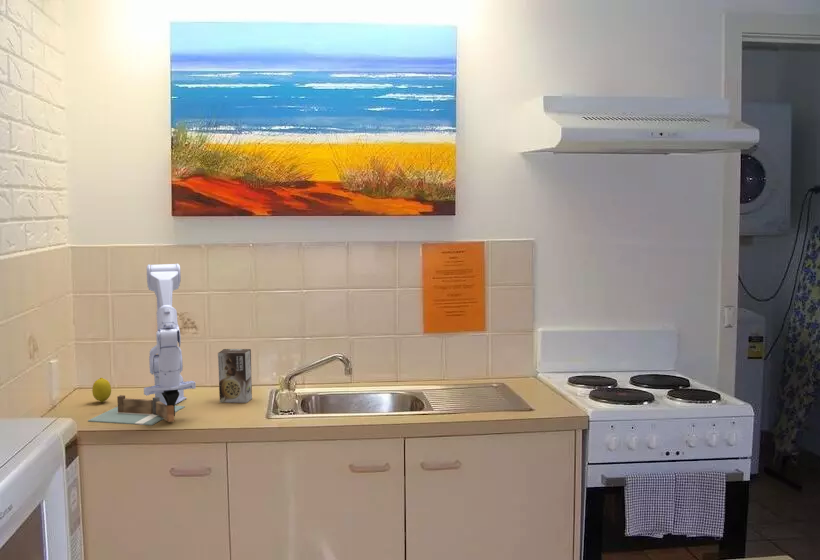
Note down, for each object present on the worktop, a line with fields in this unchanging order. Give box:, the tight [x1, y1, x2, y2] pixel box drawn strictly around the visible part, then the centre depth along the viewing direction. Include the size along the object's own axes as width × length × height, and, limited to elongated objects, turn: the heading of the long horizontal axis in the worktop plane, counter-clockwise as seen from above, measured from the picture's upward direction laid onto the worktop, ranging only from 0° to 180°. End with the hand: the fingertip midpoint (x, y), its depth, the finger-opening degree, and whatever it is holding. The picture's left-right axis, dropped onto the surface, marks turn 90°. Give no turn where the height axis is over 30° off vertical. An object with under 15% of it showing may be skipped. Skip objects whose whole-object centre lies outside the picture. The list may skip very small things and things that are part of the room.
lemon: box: [91, 377, 112, 403], centre depth 253 cm, size 6×6×8 cm
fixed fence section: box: [116, 394, 160, 415], centre depth 239 cm, size 13×2×5 cm, turn 79°
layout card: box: [87, 405, 186, 426], centre depth 240 cm, size 20×20×1 cm
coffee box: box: [217, 348, 253, 404], centre depth 255 cm, size 9×6×16 cm
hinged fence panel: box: [156, 401, 175, 423], centre depth 233 cm, size 11×2×4 cm, turn 37°
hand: (171, 416), depth 233 cm, fingers closed, pressing on hinged fence panel
